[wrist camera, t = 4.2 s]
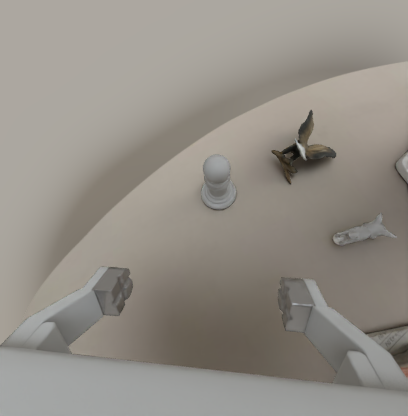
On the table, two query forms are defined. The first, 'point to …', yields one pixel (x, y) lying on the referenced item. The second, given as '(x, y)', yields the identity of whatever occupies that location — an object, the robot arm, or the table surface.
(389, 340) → the packaged product
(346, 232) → the dog figurine
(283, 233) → the table surface
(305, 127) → the eagle figurine
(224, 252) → the table surface
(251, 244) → the table surface
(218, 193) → the chess piece
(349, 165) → the table surface
